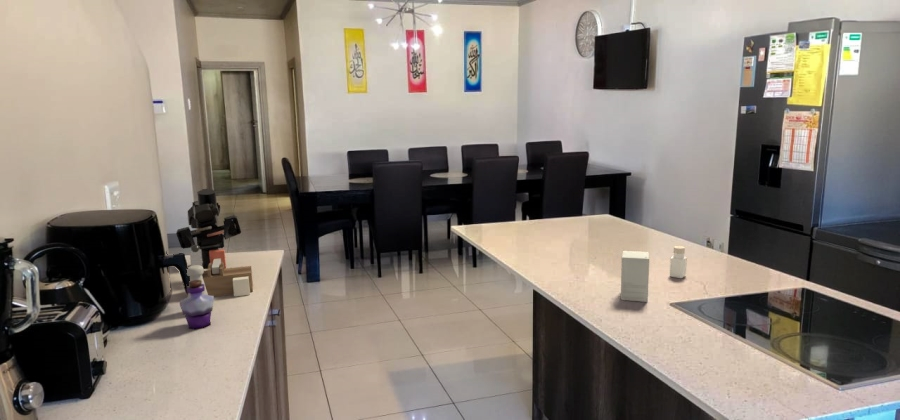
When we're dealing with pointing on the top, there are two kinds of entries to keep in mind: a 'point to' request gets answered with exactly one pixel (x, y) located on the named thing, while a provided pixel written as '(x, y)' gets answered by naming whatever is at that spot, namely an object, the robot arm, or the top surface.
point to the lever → (196, 256)
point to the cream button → (241, 286)
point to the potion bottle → (197, 306)
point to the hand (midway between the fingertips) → (209, 242)
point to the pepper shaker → (678, 263)
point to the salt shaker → (196, 275)
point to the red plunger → (217, 260)
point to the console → (225, 279)
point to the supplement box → (635, 276)
